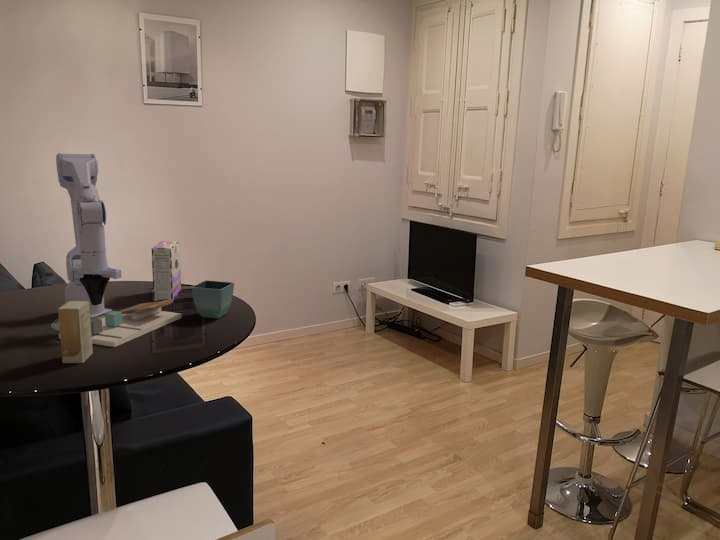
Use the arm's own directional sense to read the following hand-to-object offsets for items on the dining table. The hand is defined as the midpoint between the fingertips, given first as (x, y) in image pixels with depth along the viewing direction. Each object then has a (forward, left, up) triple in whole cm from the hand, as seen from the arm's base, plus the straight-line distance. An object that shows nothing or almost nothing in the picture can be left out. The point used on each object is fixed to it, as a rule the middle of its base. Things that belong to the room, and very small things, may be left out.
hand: (96, 304), depth 145 cm
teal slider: (+5, 0, -5) cm, 7 cm away
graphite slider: (+5, -7, -5) cm, 10 cm away
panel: (+5, +3, -6) cm, 9 cm away
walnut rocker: (+7, +10, -3) cm, 12 cm away
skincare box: (+11, -19, -7) cm, 23 cm away
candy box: (-5, +35, -7) cm, 36 cm away
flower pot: (+20, +21, -7) cm, 30 cm away
